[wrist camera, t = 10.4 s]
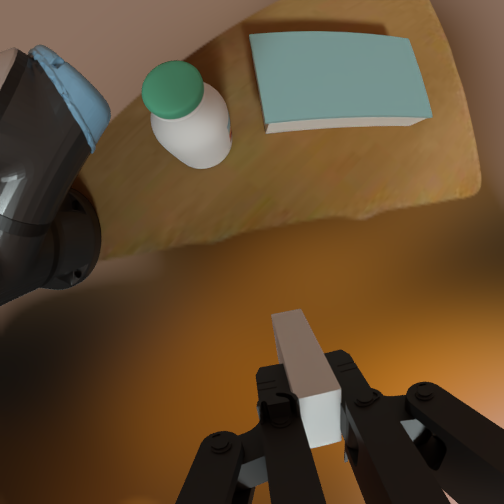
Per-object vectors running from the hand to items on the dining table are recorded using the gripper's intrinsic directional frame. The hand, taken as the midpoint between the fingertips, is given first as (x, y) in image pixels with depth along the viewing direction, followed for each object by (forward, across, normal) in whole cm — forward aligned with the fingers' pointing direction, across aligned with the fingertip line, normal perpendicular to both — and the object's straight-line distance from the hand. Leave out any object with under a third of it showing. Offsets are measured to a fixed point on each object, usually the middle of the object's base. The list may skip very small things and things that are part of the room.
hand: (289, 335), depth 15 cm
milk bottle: (+28, -4, +14) cm, 31 cm away
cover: (+23, +15, +20) cm, 34 cm away
